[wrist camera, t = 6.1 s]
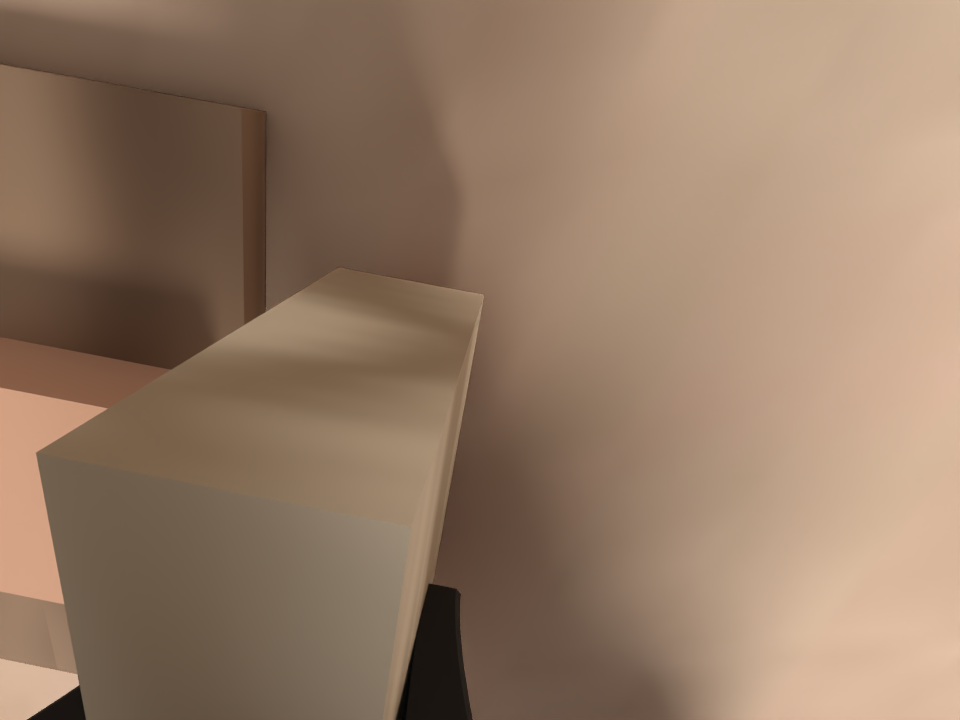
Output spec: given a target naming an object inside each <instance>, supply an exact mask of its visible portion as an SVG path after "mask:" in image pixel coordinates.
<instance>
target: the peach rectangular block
mask: <svg viewBox="0 0 960 720" xmlns="http://www.w3.org/2000/svg"><path fill="white" fill-rule="evenodd" d="M168 371H170V369H165V368H159V367H154V366H149V365H144V364H139V363H133V362H128V361H123V360H118V359H112V358H107V357H102V356H97V355H92V354H86V353H81V352H76V351H71V350H65V349H60V348H55V347H50V346H45V345H39V344H34V343H29V342H24V341H19V340H13V339H8V338H3V337H0V591H1V592H6V593H11V594H15V595H20V596H25V597H30V598H35V599H40V600H45V601H50V602H55V603H60V604H64V600H63V594H62V589H61V584H60V578H59V573H58V568H57V562H56V557H55V552H54V547H53V541H52V536H51V531H50V525H49V520H48V515H47V509H46V504H45V499H44V493H43V488H42V483H41V478H40V472H39V467H38V462H37V456H36V452H38V451H39V450H41V449H43V448H44V447H46V446H48V445H49V444H51V443H52V442H54V441H56V440H57V439H59V438H61V437H62V436H64V435H66V434H67V433H69V432H70V431H72V430H74V429H75V428H77V427H79V426H80V425H82V424H84V423H85V422H87V421H88V420H90V419H92V418H93V417H95V416H97V415H98V414H100V413H101V412H103V411H105V410H106V409H108V408H110V407H111V406H113V405H115V404H116V403H118V402H119V401H121V400H123V399H124V398H126V397H128V396H129V395H131V394H133V393H134V392H136V391H137V390H139V389H141V388H142V387H144V386H146V385H147V384H149V383H151V382H152V381H154V380H155V379H157V378H159V377H160V376H162V375H164V374H165V373H167V372H168Z"/></svg>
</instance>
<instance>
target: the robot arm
mask: <svg viewBox="0 0 960 720" xmlns="http://www.w3.org/2000/svg"><path fill="white" fill-rule="evenodd" d="M460 596H461V594H460V593H459V592H458V590H457V589H454V588H449V587H444V586H439V585H434V584H429V585H428V588H427V592H426V596H425V600H424V604H423V608H422V612H421V616H420V620H419V624H418V628H417V633H416V639H415V645H414V651H413V657H412V663H411V668H410V674H409V680H408V686H407V692H406V698H405V704H404V710H403V716H402V720H473V719H472V714H471V709H470V703H469V697H468V690H467V684H466V678H465V671H464V664H463V656H462V645H461V634H460ZM27 720H86V716H85V711H84V706H83V700H82V695H81V690H80V685H79V686H77V687H76V688H75V689H73V690H72V691H70V692H69V693H67V694H66V695H64V696H63V697H61V698H60V699H58V700H57V701H55V702H53V703H52V704H50V705H49V706H47V707H46V708H44V709H43V710H41V711H40V712H38V713H37V714H35V715H34V716H32V717H30V718H29V719H27Z"/></svg>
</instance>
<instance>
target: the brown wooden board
mask: <svg viewBox="0 0 960 720" xmlns="http://www.w3.org/2000/svg"><path fill="white" fill-rule="evenodd" d="M265 159H266V112H265V111H259V110H254V109H248V108H243V107H237V106H232V105H226V104H221V103H215V102H209V101H204V100H198V99H193V98H187V97H182V96H176V95H171V94H165V93H160V92H154V91H149V90H143V89H138V88H132V87H127V86H121V85H116V84H110V83H105V82H99V81H94V80H88V79H82V78H77V77H71V76H66V75H60V74H55V73H49V72H44V71H38V70H33V69H27V68H22V67H16V66H11V65H5V64H0V337H3V338H8V339H13V340H19V341H24V342H29V343H34V344H39V345H45V346H50V347H55V348H60V349H65V350H71V351H76V352H81V353H86V354H92V355H97V356H102V357H107V358H112V359H118V360H123V361H128V362H133V363H139V364H144V365H149V366H154V367H159V368H165V369H170V370H172V369H173V368H175V367H177V366H178V365H180V364H182V363H183V362H185V361H186V360H188V359H190V358H191V357H193V356H195V355H196V354H198V353H200V352H201V351H203V350H204V349H206V348H208V347H209V346H211V345H213V344H214V343H216V342H217V341H219V340H221V339H222V338H224V337H226V336H227V335H229V334H231V333H232V332H234V331H235V330H237V329H239V328H240V327H242V326H244V325H245V324H247V323H249V322H250V321H252V320H253V319H255V318H257V317H258V316H260V315H262V314H263V313H265ZM0 658H1V659H6V660H11V661H16V662H20V663H25V664H30V665H35V666H40V667H45V668H50V669H55V670H60V671H65V672H69V673H74V674H77V669H76V663H75V658H74V653H73V647H72V642H71V637H70V631H69V626H68V621H67V616H66V610H65V605H64V604H60V603H55V602H50V601H45V600H40V599H35V598H30V597H25V596H20V595H15V594H11V593H6V592H1V591H0Z"/></svg>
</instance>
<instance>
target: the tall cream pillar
mask: <svg viewBox="0 0 960 720" xmlns="http://www.w3.org/2000/svg"><path fill="white" fill-rule="evenodd" d="M483 299H484V295H483V294H477V293H472V292H467V291H462V290H456V289H451V288H446V287H440V286H435V285H430V284H425V283H419V282H414V281H409V280H403V279H398V278H393V277H388V276H382V275H377V274H372V273H366V272H361V271H356V270H351V269H345V268H340V267H338V268H337V269H335V270H333V271H332V272H330V273H329V274H327V275H325V276H324V277H322V278H320V279H319V280H317V281H316V282H314V283H312V284H311V285H309V286H307V287H306V288H304V289H302V290H301V291H299V292H298V293H296V294H294V295H293V296H291V297H289V298H288V299H286V300H284V301H283V302H281V303H280V304H278V305H276V306H275V307H273V308H271V309H270V310H268V311H267V312H265V313H263V314H262V315H260V316H258V317H257V318H255V319H253V320H252V321H250V322H249V323H247V324H245V325H244V326H242V327H240V328H239V329H237V330H235V331H234V332H232V333H231V334H229V335H227V336H226V337H224V338H222V339H221V340H219V341H217V342H216V343H214V344H213V345H211V346H209V347H208V348H206V349H204V350H203V351H201V352H200V353H198V354H196V355H195V356H193V357H191V358H190V359H188V360H186V361H185V362H183V363H182V364H180V365H178V366H177V367H175V368H173V369H172V370H170V371H168V372H167V373H165V374H164V375H162V376H160V377H159V378H157V379H155V380H154V381H152V382H151V383H149V384H147V385H146V386H144V387H142V388H141V389H139V390H137V391H136V392H134V393H133V394H131V395H129V396H128V397H126V398H124V399H123V400H121V401H119V402H118V403H116V404H115V405H113V406H111V407H110V408H108V409H106V410H105V411H103V412H101V413H100V414H98V415H97V416H95V417H93V418H92V419H90V420H88V421H87V422H85V423H84V424H82V425H80V426H79V427H77V428H75V429H74V430H72V431H70V432H69V433H67V434H66V435H64V436H62V437H61V438H59V439H57V440H56V441H54V442H52V443H51V444H49V445H48V446H46V447H44V448H43V449H41V450H39V451H38V452H36V456H37V462H38V467H39V472H40V478H41V483H42V488H43V493H44V499H45V504H46V509H47V515H48V520H49V525H50V531H51V536H52V541H53V547H54V552H55V557H56V562H57V568H58V573H59V578H60V584H61V589H62V594H63V600H64V605H65V610H66V616H67V621H68V626H69V631H70V637H71V642H72V647H73V653H74V658H75V663H76V669H77V674H78V679H79V685H80V690H81V695H82V700H83V706H84V711H85V716H86V720H402V716H403V710H404V704H405V698H406V692H407V686H408V680H409V674H410V668H411V663H412V657H413V651H414V645H415V639H416V633H417V628H418V624H419V620H420V616H421V612H422V608H423V604H424V600H425V596H426V592H427V588H428V585H429V584H433V580H434V574H435V569H436V563H437V558H438V552H439V546H440V541H441V535H442V529H443V524H444V518H445V513H446V507H447V501H448V496H449V490H450V485H451V479H452V473H453V468H454V462H455V456H456V451H457V445H458V440H459V434H460V428H461V423H462V417H463V412H464V406H465V400H466V395H467V389H468V383H469V378H470V372H471V367H472V361H473V355H474V350H475V344H476V339H477V333H478V327H479V322H480V316H481V310H482V305H483Z"/></svg>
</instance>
